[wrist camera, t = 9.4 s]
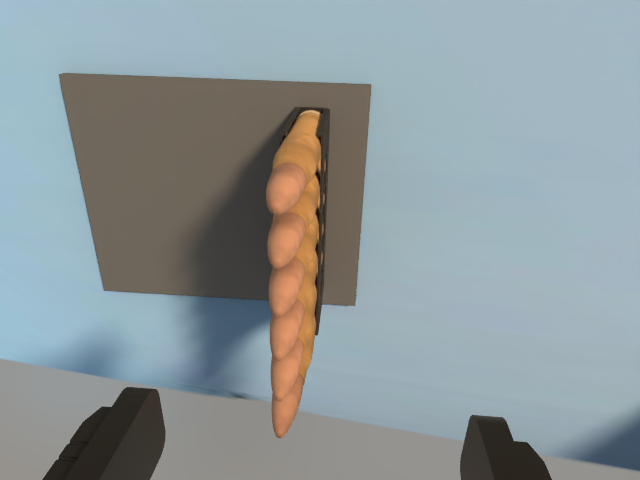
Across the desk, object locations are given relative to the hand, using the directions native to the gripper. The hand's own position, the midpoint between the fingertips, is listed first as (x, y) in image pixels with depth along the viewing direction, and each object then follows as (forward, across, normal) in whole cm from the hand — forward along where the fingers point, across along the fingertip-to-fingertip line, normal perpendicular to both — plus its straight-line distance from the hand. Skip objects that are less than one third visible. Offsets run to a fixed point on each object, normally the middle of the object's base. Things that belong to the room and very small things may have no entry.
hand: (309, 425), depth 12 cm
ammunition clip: (+15, +2, 0) cm, 15 cm away
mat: (+16, +7, 0) cm, 17 cm away
